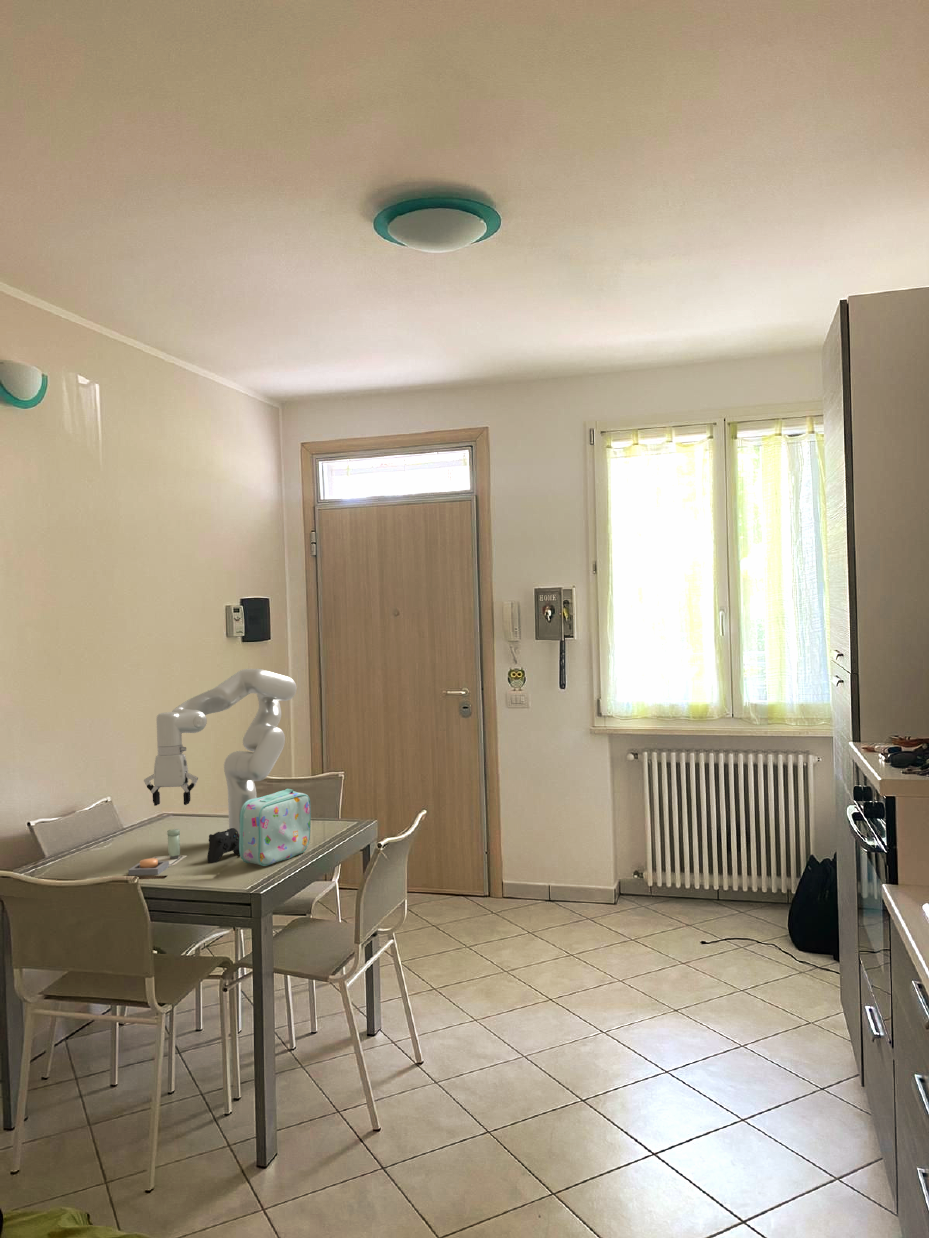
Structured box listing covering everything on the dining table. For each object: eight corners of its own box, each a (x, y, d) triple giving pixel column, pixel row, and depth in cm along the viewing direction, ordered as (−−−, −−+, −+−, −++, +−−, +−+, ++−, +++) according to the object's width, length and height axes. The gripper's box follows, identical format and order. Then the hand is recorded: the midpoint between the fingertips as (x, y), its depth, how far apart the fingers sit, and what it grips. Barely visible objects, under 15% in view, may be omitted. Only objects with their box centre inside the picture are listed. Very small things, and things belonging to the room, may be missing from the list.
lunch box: (290, 847, 313) (288, 783, 313) (315, 850, 308) (313, 785, 308) (236, 867, 289) (233, 798, 289) (262, 870, 285) (259, 800, 285)
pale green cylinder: (182, 856, 301) (181, 828, 301) (178, 859, 297) (177, 831, 297) (170, 856, 301) (169, 829, 301) (166, 859, 298) (165, 831, 298)
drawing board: (191, 857, 304) (191, 854, 304) (164, 878, 280) (163, 874, 280) (152, 858, 304) (152, 855, 304) (121, 879, 280) (121, 875, 280)
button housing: (169, 866, 289) (168, 861, 289) (158, 874, 280) (157, 868, 280) (140, 867, 290) (140, 861, 290) (128, 875, 281) (128, 869, 281)
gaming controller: (216, 867, 290) (215, 835, 290) (202, 865, 294) (201, 833, 294) (249, 857, 302) (248, 826, 302) (235, 855, 306) (234, 824, 306)
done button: (160, 863, 288) (160, 857, 288) (154, 868, 282) (153, 862, 282) (143, 864, 288) (143, 858, 288) (137, 868, 283) (136, 862, 283)
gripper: (200, 748, 303) (202, 801, 303) (148, 750, 304) (150, 802, 304) (192, 751, 295) (194, 806, 295) (138, 753, 296) (140, 807, 296)
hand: (171, 804), depth 300 cm, fingers open, 9 cm apart
